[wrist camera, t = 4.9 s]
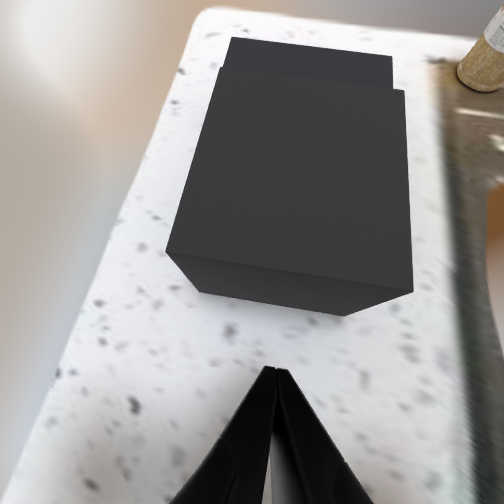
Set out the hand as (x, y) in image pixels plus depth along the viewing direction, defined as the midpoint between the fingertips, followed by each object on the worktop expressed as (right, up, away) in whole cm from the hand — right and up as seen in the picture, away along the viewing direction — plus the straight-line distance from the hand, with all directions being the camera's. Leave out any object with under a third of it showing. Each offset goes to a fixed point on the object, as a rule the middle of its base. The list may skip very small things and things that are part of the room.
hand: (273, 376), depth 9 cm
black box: (+1, +6, +11) cm, 12 cm away
